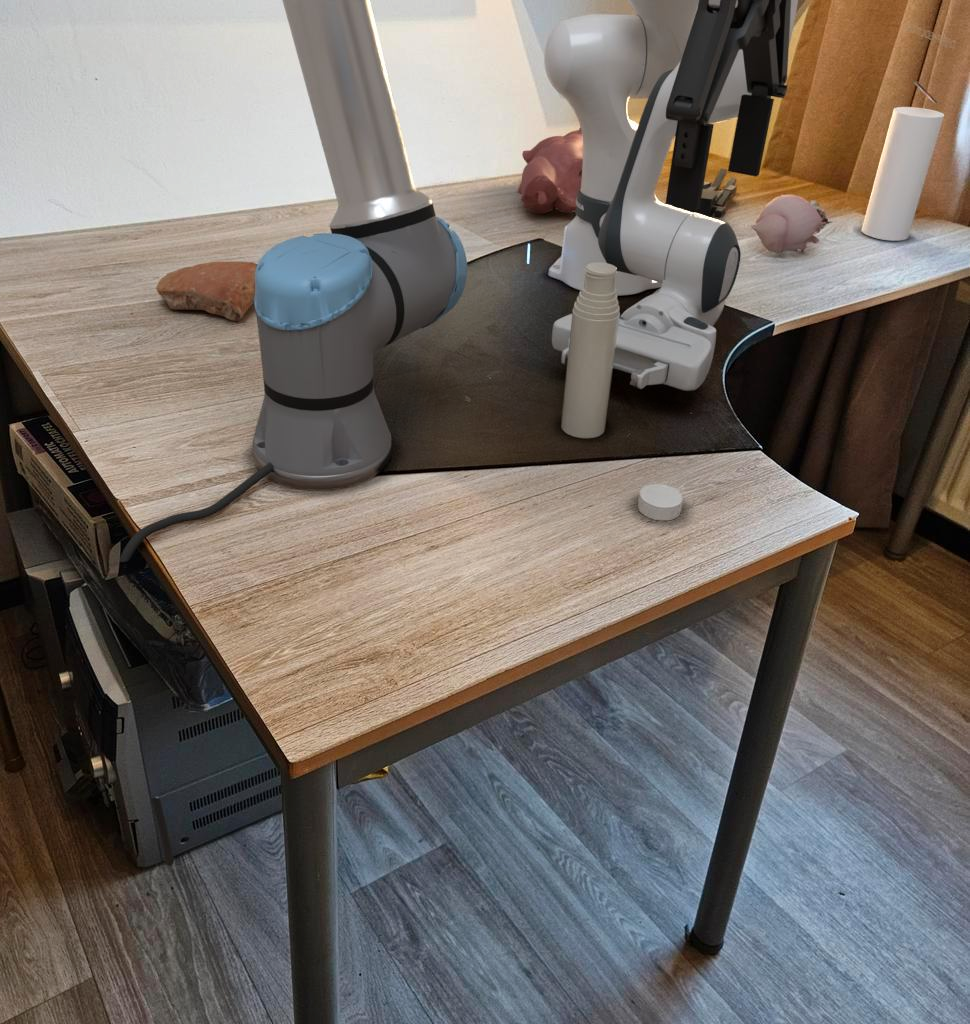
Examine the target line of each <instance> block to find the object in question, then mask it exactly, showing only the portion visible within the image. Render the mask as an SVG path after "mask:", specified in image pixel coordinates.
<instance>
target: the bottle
mask: <svg viewBox="0 0 970 1024" xmlns="http://www.w3.org/2000/svg"><path fill="white" fill-rule="evenodd" d="M585 271H586V272H585V283H584V285H583V286H582V289H581V290H579V293H578V296H577V297H576V300H575V302H574V304H573V308H572V312H571V314H572V321H571V331H570V341H569V351H568V361H567V365H566V371H565V382H564V390H563V391H564V393H563V402H562V411H561V421H560V428H561V430H562V431H563V432H564V433H565V434H566V435H568V436H571V437H573V438H578V439H579V438H580V439H593V438H594V439H595V438H598V437H600V436H602V435H603V434H604V433H605V431H606V426H607V425H606V424H607V415H608V407H609V401H610V394H611V387H612V386H611V385H612V378H613V371H614V368H613V364H614V356H615V348H616V341H617V333H618V325H619V318H620V317H621V312H620V305H619V300H618V296H617V295H616V289H615V288H614V285H615V277H616V275H617V272H616V267H615V266H613V265H611V264H608V263H601V262H596V263H590V264H588V265H587V266H586V268H585Z"/></svg>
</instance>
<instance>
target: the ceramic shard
mask: <svg viewBox="0 0 970 1024" xmlns="http://www.w3.org/2000/svg"><path fill="white" fill-rule="evenodd" d="M257 265H258V263H256V262H252V261H210V262H206V263H205V262H204V263H199V264H195V265H192V266H186V267H185V266H184V267H183V268H179V269H177V270H174V271H171V272H168V273H166V274H165V276H163V277H162V278H161V279H159V281H158V283H157V285H156V288H155V289H156V292H157V294H159V295H160V296H161V297H162V298H163V299H164V300H165V302H166V304H167V305H168V307H169V309H172V310H190V311H191V310H195V311H196V310H201V311H206V312H207V313H210V314H211V315H218V316H222V317H225V319H228V320H230V321H234V322H236V321H237V322H238V321H241V319H242V318H243V317H244V316H245V314H246V313H247V312H248V310H249V309H250V308H251V306H252V305H254V297H255V271H256V267H257Z"/></svg>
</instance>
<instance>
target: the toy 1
mask: <svg viewBox="0 0 970 1024" xmlns="http://www.w3.org/2000/svg"><path fill="white" fill-rule="evenodd" d="M727 172H728V170H727V169H726V168H720V169H719V171H718V173H717V175H716V177H715V178H714V180H713V182H710V181H704V185H703V191H702V197H701V203H700V209H698V210H691V209H687V208H682V207H677V206H673V205H671V206H672V207H676V208H679V209H682V210H685V211H689V212H692V213H697V214H701V215H704V216H707V217H710V218H713V219H722V217H723V216H724V215H725V212H726V204H727V203H728V201H729V199H730V198H731V197H732V196H734V195H735V194H736V193H737V188H738V185H736V182H737V177H732V176H731V177H730V178H729V179H728V180H727V182H726V183H725V185H724V187H723V188H722V190H719V189H720V188H721V186H722V184H723V181H724V180H725V178H726V176H727Z"/></svg>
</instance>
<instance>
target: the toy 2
mask: <svg viewBox="0 0 970 1024" xmlns="http://www.w3.org/2000/svg"><path fill="white" fill-rule="evenodd" d="M820 207H821V206H820V203H817V202H816V201H815V200H813V199H811V200H810V201H808V200H807V199H806V198H804V197H801V196H798V195H796V194H789V193H788V194H781V195H778V196H777V197H774V198H773V199H771V200H770V201H769V202H768V203H767V204H765V206H763V209H762V210H761V212H760V213H759V215H758V217H756V220H755V224H751V225H750V226H751V229H752V230H754V231H755V233H756V234H757V235H756V236H758V238H759V240H760V242H761V244H762V246H763V247H764V248H765V250H766V251H768V252H770V253H775V254H777V255H779V254H782V253H784V252H796V253H798V252H799V251H798V250H800V252H803V251H805V250H806V249H807V245H808V244H809V243H812V244H818V243H819V241H820V239H819V238H818V237H816V236H815V235H817V234H819V233H820V232H821V230H823V229H825V227H826V226H827V225H830V224H831V223H832V221H831V220H830V221H829V219H828V218H827V213H826V211H825V210H826V209H821V208H820Z"/></svg>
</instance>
